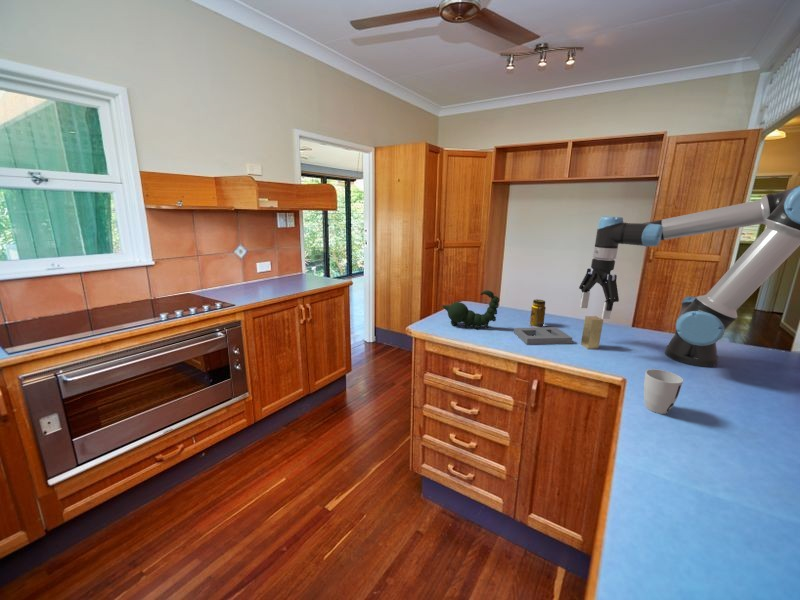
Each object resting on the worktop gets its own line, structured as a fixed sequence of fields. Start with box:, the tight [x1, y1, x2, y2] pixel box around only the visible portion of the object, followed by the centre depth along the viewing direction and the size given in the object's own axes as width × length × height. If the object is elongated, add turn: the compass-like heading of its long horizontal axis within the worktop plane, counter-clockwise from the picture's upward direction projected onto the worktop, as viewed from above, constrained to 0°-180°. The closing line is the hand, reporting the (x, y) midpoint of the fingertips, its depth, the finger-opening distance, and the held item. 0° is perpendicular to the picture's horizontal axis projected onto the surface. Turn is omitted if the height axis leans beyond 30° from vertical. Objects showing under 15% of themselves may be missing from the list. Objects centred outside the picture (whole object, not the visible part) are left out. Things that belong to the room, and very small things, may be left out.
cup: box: [643, 368, 684, 415], centre depth 94 cm, size 8×8×10 cm
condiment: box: [529, 298, 551, 328], centre depth 162 cm, size 7×8×12 cm
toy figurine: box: [441, 289, 501, 330], centre depth 158 cm, size 9×19×25 cm
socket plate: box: [513, 326, 573, 345], centre depth 147 cm, size 13×19×2 cm
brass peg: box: [580, 315, 604, 350], centre depth 137 cm, size 4×4×12 cm
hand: (594, 313), depth 135 cm, fingers open, 13 cm apart
